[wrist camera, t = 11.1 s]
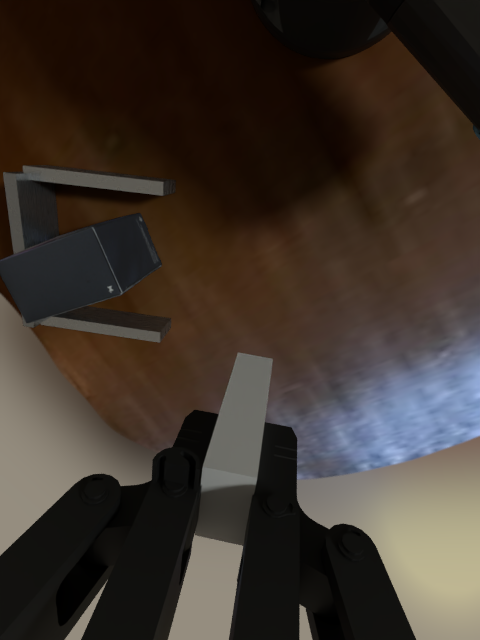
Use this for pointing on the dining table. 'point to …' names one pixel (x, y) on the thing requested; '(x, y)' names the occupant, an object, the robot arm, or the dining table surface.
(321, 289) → the dining table surface
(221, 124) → the dining table surface
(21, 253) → the small box
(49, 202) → the grey u-shaped bracket
